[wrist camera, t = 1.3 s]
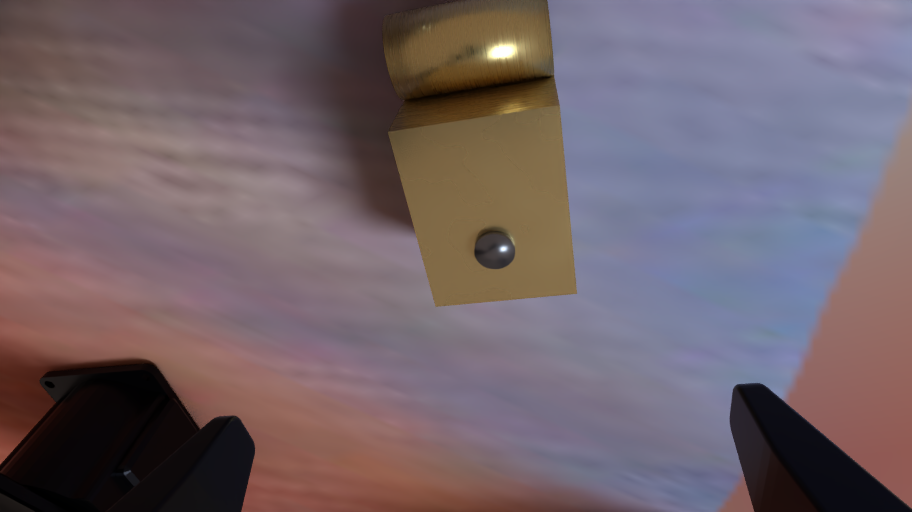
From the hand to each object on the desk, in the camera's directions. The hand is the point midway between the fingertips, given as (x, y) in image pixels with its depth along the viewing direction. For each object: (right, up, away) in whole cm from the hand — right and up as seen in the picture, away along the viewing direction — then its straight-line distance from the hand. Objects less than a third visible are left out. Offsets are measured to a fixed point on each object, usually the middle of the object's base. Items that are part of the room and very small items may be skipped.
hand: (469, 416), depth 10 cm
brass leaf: (+1, +7, +8) cm, 11 cm away
